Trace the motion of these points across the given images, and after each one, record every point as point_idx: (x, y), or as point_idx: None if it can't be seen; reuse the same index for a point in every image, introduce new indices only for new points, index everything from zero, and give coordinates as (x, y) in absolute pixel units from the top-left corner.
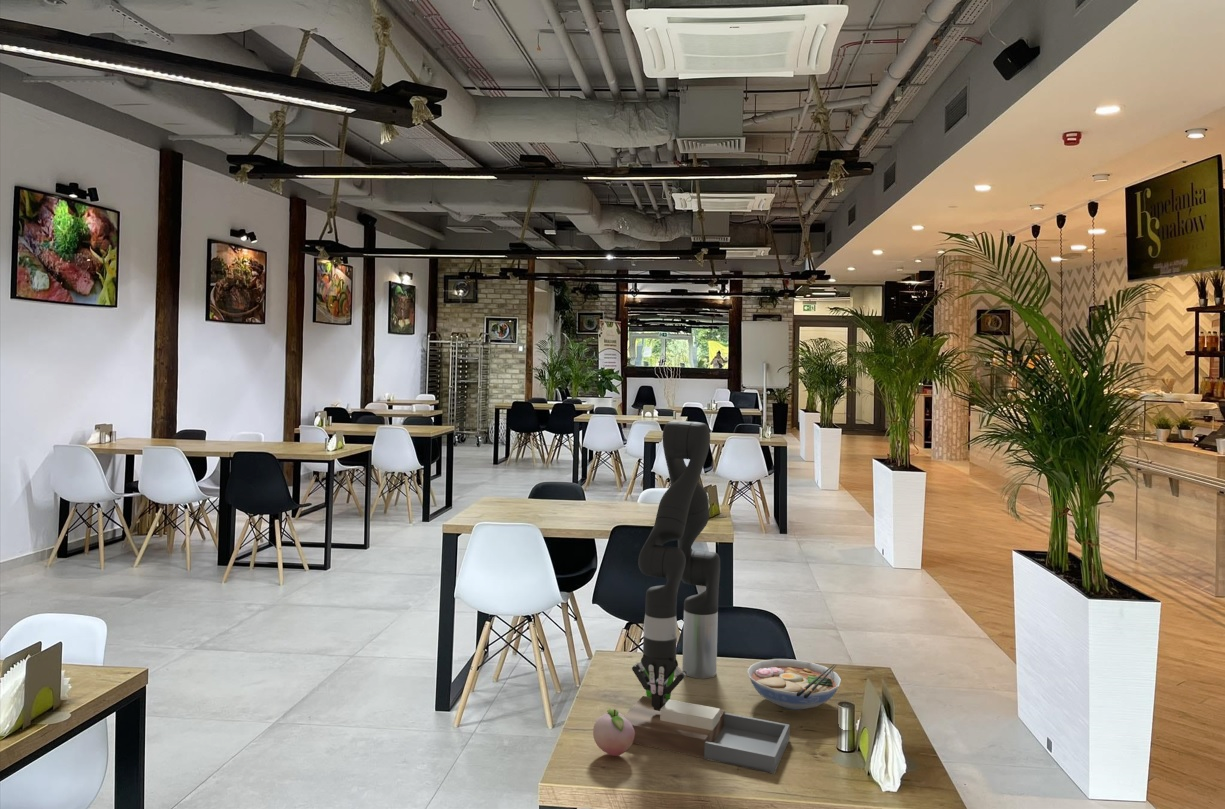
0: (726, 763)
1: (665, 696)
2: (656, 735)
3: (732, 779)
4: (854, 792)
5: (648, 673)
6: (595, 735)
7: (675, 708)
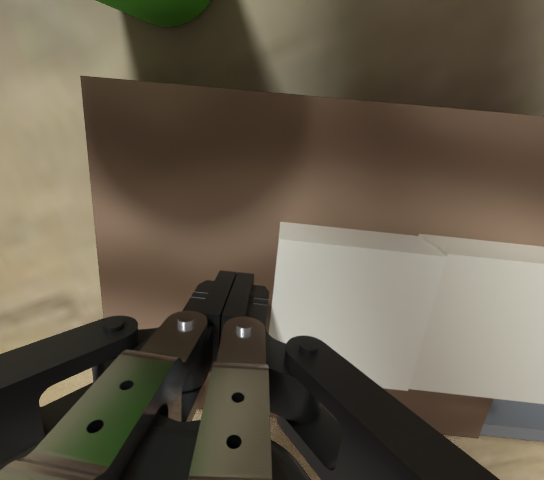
0: None
1: (266, 318)
2: None
3: (525, 461)
4: None
5: None
6: None
7: (340, 345)
